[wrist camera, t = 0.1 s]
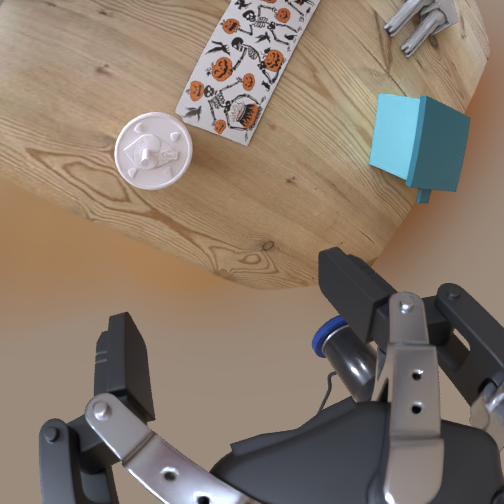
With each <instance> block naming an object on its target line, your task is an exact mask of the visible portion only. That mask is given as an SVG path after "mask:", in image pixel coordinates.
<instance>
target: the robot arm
mask: <svg viewBox="0 0 504 504" xmlns="http://www.w3.org/2000/svg"><path fill="white" fill-rule="evenodd" d="M318 258H319V286H320V289H321V291H322V293H323V294H324V296H325V297H326V298H327V299H328V300H329V302H330V303H331V304H332V305H333V306H334V308H335V309H336V310H337V311H338V313H339V314H340V315H341V316H342V318H343V319H344V320H345V321H346V322H347V323H346V324H342V325H340V326H338V327H336V328H335V329H333V330H332V331H331V332H330V333H329V334H328V335H327V336H326V337H325V338H324V340H323V342H322V344H321V351H322V353H323V354H324V355H325V356H326V358H327V359H328V361H329V362H330V364H331V365H332V367H333V368H334V370H335V371H334V372H332V373H330V374H329V375H328V391H327V394H326V396H325V398H324V400H323V402H322V404H321V407H320V409H319V411H318V413H317V415H316V416H314V417H313V418H311V419H310V420H309V421H308V422H306V423H305V424H303V425H302V426H301V427H299V428H297V429H294V430H288V431H281V432H274V433H266V434H260V435H257V436H255V437H251V438H248V439H245V440H242V441H239V442H235V443H232V444H230V446H231V448H232V452H230V453H229V454H227V455H225V456H224V457H223V458H221V459H220V460H219V461H218V462H217V463H216V464H215V465H214V466H213V468H212V469H211V470H210V472H207V471H206V470H204V469H203V468H202V467H200V466H199V465H197V464H196V463H194V462H193V461H192V460H190V459H188V458H187V457H186V456H185V455H183V454H182V453H181V452H179V451H178V450H177V449H175V448H174V447H173V446H172V445H170V444H169V443H168V442H166V441H165V440H164V439H163V438H162V437H160V436H159V435H158V434H156V433H155V432H154V431H152V430H151V429H150V428H149V427H148V426H147V422H149V421H154V420H155V413H154V407H153V400H152V392H151V384H150V376H149V367H148V357H147V349H146V345H145V342H144V340H143V338H142V336H141V334H140V332H139V330H138V329H137V327H136V325H135V323H134V322H133V320H132V318H131V316H130V315H129V313H128V312H124V313H121V314H117V315H113V316H110V318H109V327H108V331H105V332H102V333H101V335H100V337H99V339H98V341H97V346H96V360H95V362H96V364H95V377H94V397H93V398H92V399H91V400H90V401H89V402H88V404H87V406H86V409H85V414H84V415H82V416H81V417H79V418H77V419H75V420H73V421H71V422H69V423H67V424H66V423H65V422H63V421H62V420H60V419H56V418H55V419H50V420H48V421H47V422H46V423H45V424H44V425H43V426H42V428H41V430H40V434H39V465H40V482H41V492H42V502H43V504H119V501H118V496H117V492H116V487H115V482H114V477H113V472H112V466H111V465H113V464H115V463H117V462H119V461H122V465H123V467H124V468H125V469H126V470H127V471H128V472H129V473H130V474H131V475H132V476H133V477H134V478H135V479H136V480H137V481H138V482H139V483H140V484H141V485H143V486H144V487H145V488H146V489H147V490H148V491H149V492H150V493H151V494H153V495H154V496H155V497H156V498H157V499H158V500H160V501H161V502H162V503H163V504H504V477H503V473H502V469H501V461H500V451H501V450H502V449H503V448H504V328H503V327H502V326H501V325H500V324H499V323H498V322H497V321H496V320H495V319H494V318H493V317H492V316H491V315H490V314H489V313H488V312H487V311H486V310H485V309H484V308H483V307H482V306H481V305H480V304H479V303H478V302H477V301H476V300H475V299H474V298H473V297H472V296H470V295H469V294H468V293H467V292H466V291H465V290H464V289H463V288H461V287H460V286H458V285H456V284H453V283H445V284H442V285H441V286H440V287H439V288H438V291H437V295H436V296H431V297H426V298H420V297H419V296H417V295H416V294H414V293H411V292H406V291H403V292H397V291H396V290H395V289H394V288H393V287H392V286H391V285H390V284H388V283H387V282H386V281H385V280H384V279H383V278H382V277H381V276H380V275H379V274H377V273H375V271H374V270H373V269H372V268H371V267H369V265H367V264H366V263H365V262H364V261H363V260H362V259H360V258H358V257H356V256H353V255H351V254H349V255H346V254H345V253H344V252H343V251H342V250H341V249H339V248H338V247H333V248H330V249H327V250H324V251H321V252H320V253H319V257H318ZM455 328H456V329H457V330H458V331H459V333H460V334H461V335H462V336H463V337H464V338H465V339H466V340H467V341H468V343H469V345H470V351H469V350H468V349H467V348H466V347H465V345H463V343H462V342H461V341H460V340H459V339H458V338H457V336H456V335H454V333H453V331H454V329H455ZM372 341H375V342H376V344H377V345H378V348H377V351H376V350H375V349H374V347H373V346H372V345H371V344H370V342H372ZM438 365H439V366H440V367H441V369H442V370H443V371H444V372H445V374H446V375H447V376H448V377H449V379H450V380H451V381H452V383H453V384H454V385H455V387H456V388H457V389H458V391H459V392H460V393H461V395H462V396H463V397H464V399H465V400H466V401H467V403H468V404H469V405H470V407H471V408H470V414H471V417H470V424H471V425H472V426H474V427H471V426H467V425H462V424H459V423H454V422H451V421H447V420H443V419H441V418H440V386H439V371H438ZM336 374H338V376H339V377H340V378H341V380H342V382H343V383H344V385H345V386H346V388H347V389H348V391H349V392H350V393H351V395H352V396H353V398H354V399H355V401H356V402H355V401H354V400H353V398H352V396H350V397H348V398H346V399H344V400H342V401H340V402H338V403H336V404H334V405H331V406H329V407H327V408H325V409H323V406H324V405H325V402H326V400H327V398H328V396H329V394H330V392H331V388H332V386H331V385H332V384H331V377H332V376H333V375H336ZM322 409H323V410H322Z"/></svg>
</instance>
